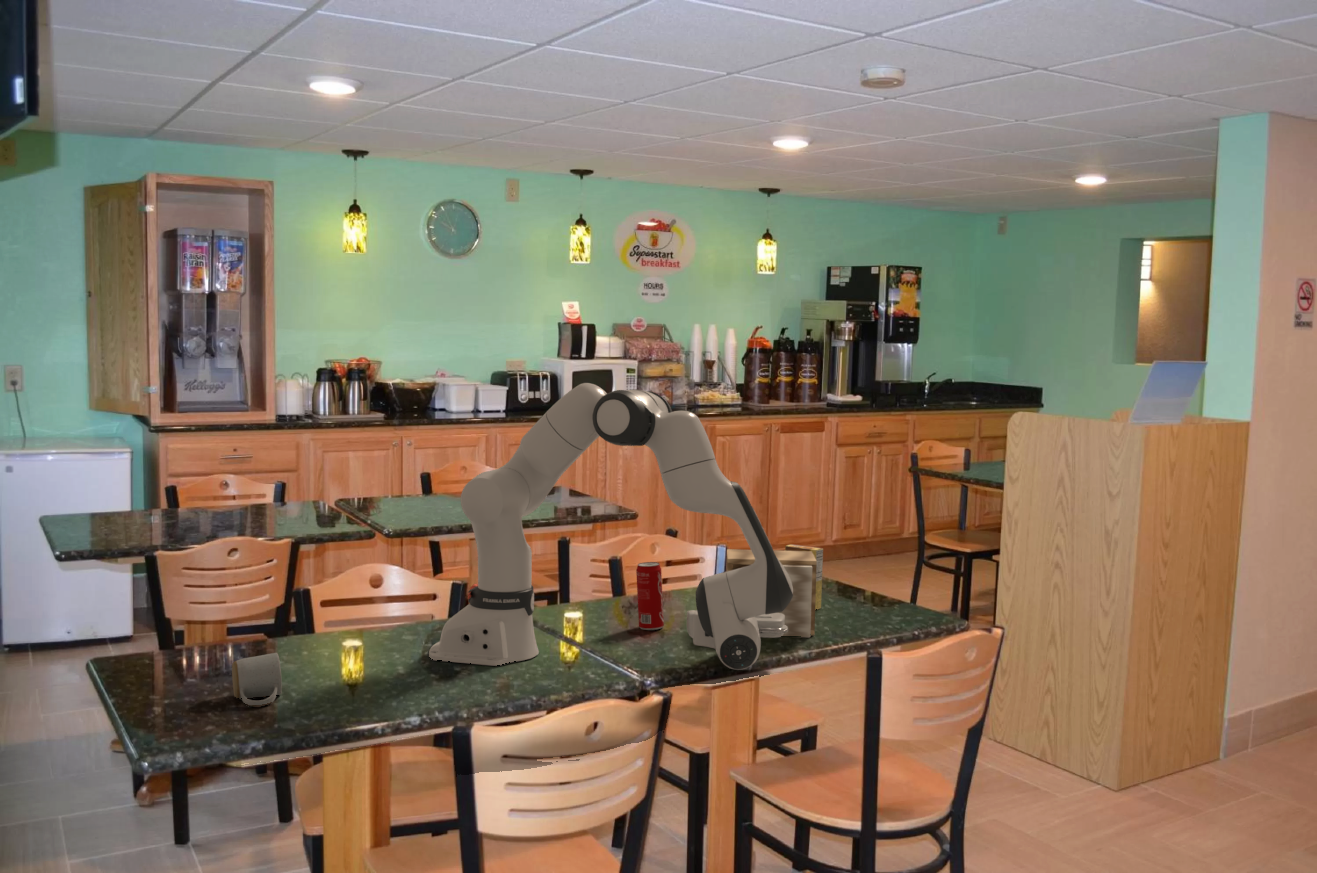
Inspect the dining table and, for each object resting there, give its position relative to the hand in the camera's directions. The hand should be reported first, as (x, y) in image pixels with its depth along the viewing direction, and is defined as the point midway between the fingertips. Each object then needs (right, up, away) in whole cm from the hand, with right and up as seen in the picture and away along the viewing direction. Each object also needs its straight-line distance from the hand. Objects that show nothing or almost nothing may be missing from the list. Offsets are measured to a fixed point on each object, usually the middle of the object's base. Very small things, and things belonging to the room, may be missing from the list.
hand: (734, 614), depth 236 cm
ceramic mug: (-88, -10, -34) cm, 95 cm away
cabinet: (+8, -7, +18) cm, 21 cm away
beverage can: (-18, -7, +21) cm, 29 cm away
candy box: (+20, -5, +44) cm, 49 cm away
